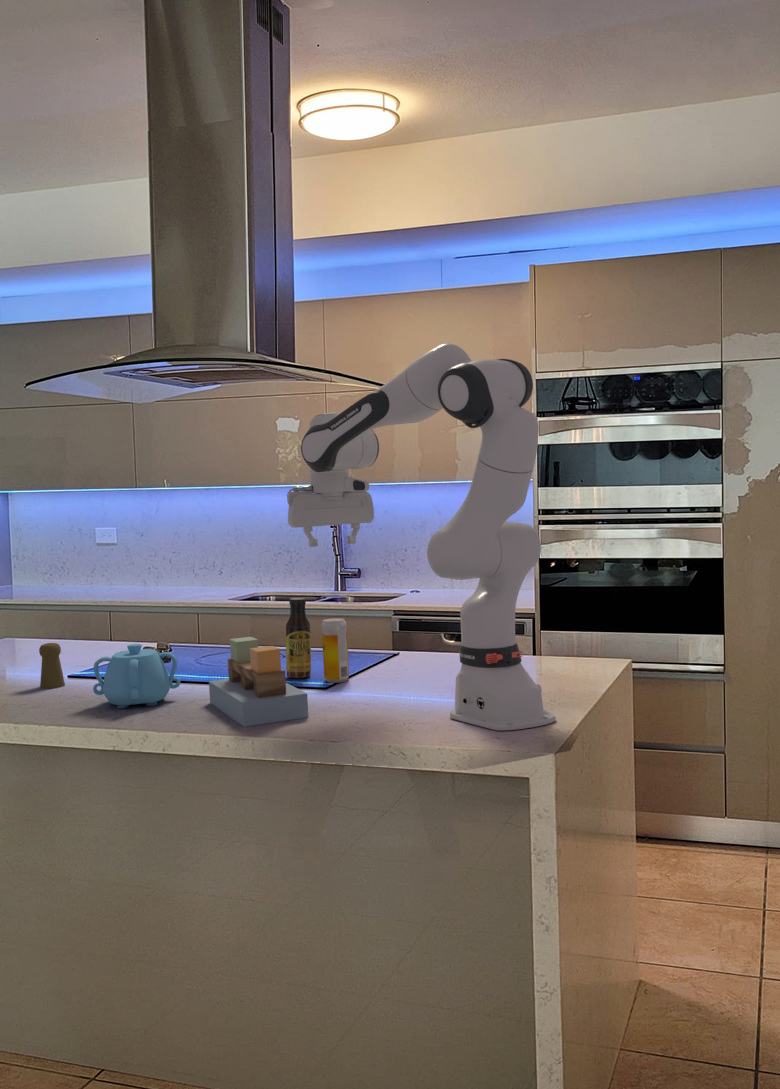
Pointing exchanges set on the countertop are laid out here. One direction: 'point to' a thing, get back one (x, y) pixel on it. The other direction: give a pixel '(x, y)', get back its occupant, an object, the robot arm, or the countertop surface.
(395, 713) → the countertop surface
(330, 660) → the beer can
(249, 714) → the block
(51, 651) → the cork
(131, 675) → the decorative pot
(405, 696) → the countertop surface
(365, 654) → the countertop surface
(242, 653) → the block
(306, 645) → the sauce bottle
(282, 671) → the walnut pallet
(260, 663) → the orange crate
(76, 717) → the countertop surface
